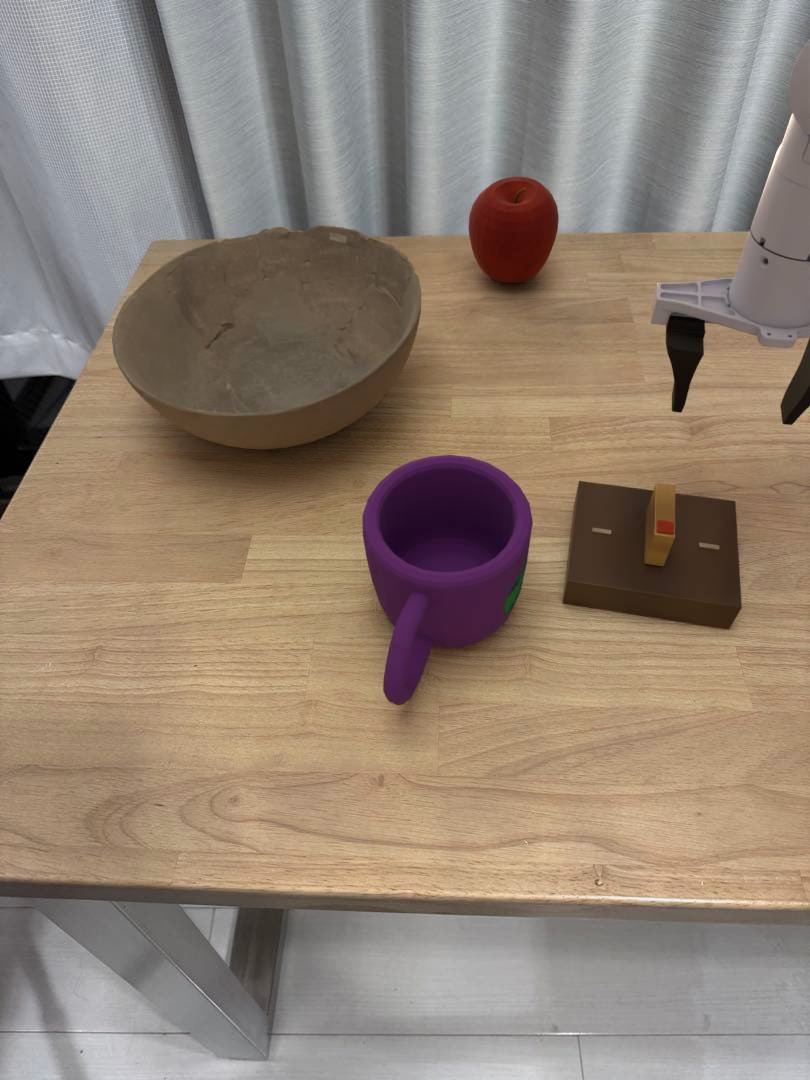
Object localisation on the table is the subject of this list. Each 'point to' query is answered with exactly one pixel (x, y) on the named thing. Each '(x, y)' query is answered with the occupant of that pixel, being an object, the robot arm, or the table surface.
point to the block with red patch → (660, 524)
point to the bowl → (271, 334)
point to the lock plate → (649, 590)
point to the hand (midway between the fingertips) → (730, 409)
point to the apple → (513, 229)
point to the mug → (443, 558)
